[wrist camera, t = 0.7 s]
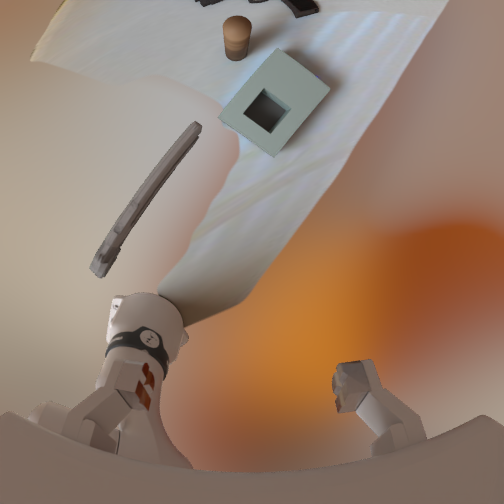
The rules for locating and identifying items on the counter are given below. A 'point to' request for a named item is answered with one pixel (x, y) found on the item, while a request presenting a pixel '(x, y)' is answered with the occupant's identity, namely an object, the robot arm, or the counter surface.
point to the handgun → (298, 3)
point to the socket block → (274, 102)
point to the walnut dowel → (236, 37)
